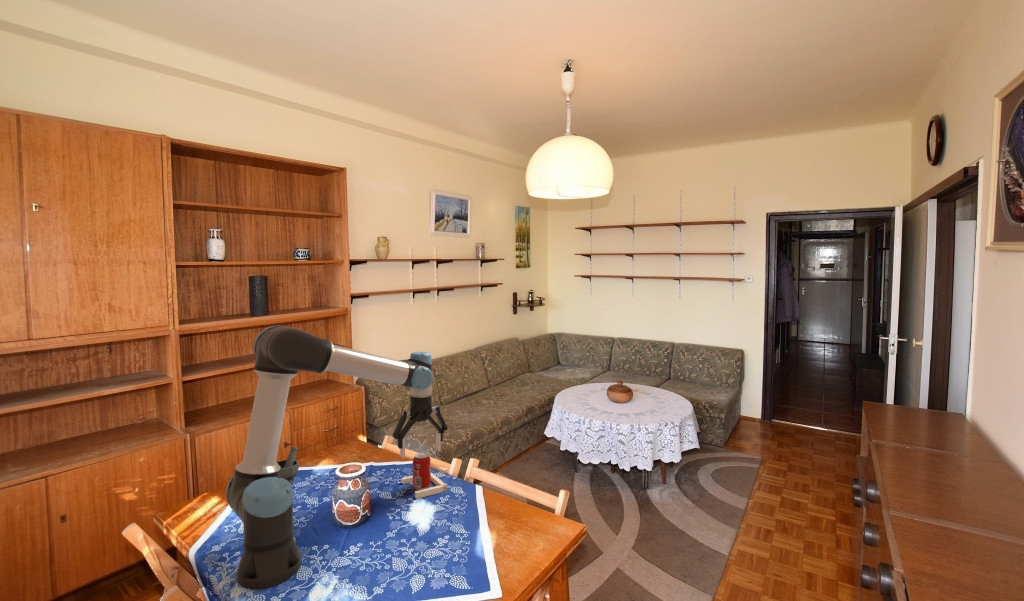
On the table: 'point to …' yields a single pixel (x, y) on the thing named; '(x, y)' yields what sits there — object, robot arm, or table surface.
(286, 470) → the mortar and pestle
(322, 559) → the table surface
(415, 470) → the beverage can
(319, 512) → the table surface
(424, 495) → the u-shaped wooden frame
